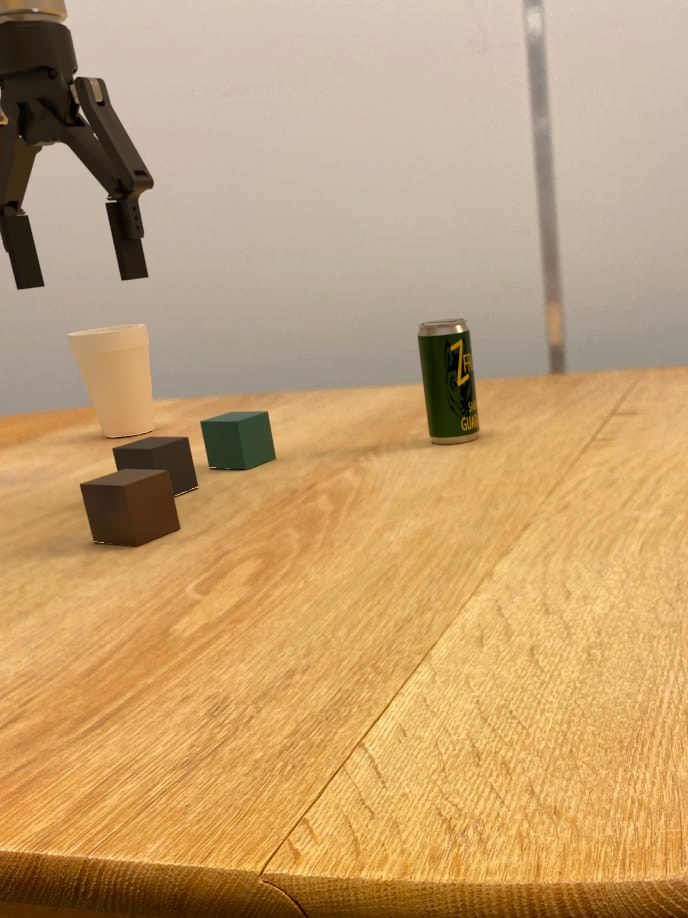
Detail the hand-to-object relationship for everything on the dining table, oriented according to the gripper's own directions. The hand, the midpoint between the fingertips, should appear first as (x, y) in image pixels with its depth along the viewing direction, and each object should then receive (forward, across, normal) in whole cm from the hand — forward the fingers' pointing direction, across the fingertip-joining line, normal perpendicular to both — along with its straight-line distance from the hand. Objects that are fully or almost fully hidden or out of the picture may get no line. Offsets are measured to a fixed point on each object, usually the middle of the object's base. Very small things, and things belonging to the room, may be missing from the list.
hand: (81, 284), depth 99 cm
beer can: (+19, +26, +22) cm, 39 cm away
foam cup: (+20, -24, +25) cm, 40 cm away
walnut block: (+20, +15, -14) cm, 28 cm away
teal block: (+19, +7, +10) cm, 23 cm away
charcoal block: (+20, +6, -2) cm, 21 cm away
